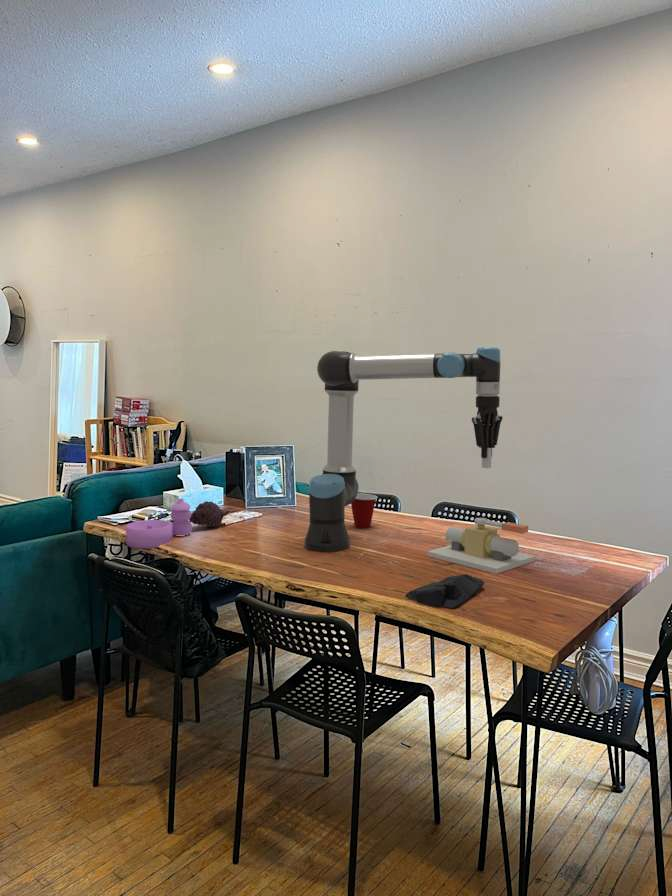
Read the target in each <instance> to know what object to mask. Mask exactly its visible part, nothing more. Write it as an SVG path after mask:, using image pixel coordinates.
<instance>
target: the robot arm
mask: <svg viewBox="0 0 672 896" xmlns="http://www.w3.org/2000/svg"><path fill="white" fill-rule="evenodd" d="M316 367H317V368H316V370H317V375H318V377H319V379H320V380H321V382H323V383H324V392H325V393H326V394H327V395H328V418H327V419H328V421H327V422H328V423H327V425H328V427H327V459H326V460H327V462H326V465H325V466H324V467H323V468H322V474H320V475H319V474H318V475H315V476H313V477H311V479H310V480H309V486H308V492H309V493H308V494H309V495H308V498H309V503H308V504H309V506H308V507H309V524H308V528H307V532H306V535H305V538H304V548H306V549H307V550H310V551H316V552H337V551H343V550H346V549H348V548H349V547H351V539H350V537H349V533H348V530H347V529H348V528H347V526H346V524H345V515H346V514H345V507H348V506H349V505H351V503H352V502H353V501H354V499H355V498H356V496H357V494H358V493H359V488H360V487H359V482H358V479H357V469H356V467H354V466H353V439H354V438H353V434H354V433H353V432H354V402H355V401H354V397H355V395H356V394H358V392H359V384H360V383H359V382H360V381H359V380H361V381H362V380H364V381H365V380H367V381H368V380H398V379H405V380H406V379H435V378H436V379H445V378H446V379H455V378H475V395H477V396H476V397H475V407H476V408H477V412H476V416H474V417H471V422H472V424H473V430H474V435H475V436H474V437H475V441H476V442H475V443H476V447H478V448H480V449H481V450H480V451H481V452H480V457H481V468H483V469H492V457H493V449H494V448H496V446H497V445H498V440H499V434H500V428H501V423H502V421H503V419H504V418H503V416H502V415H499V414H498V408H499V407H500V399H501V398H500V396H499V395H500V391H501V390H500V386H501V385H500V383H501V382H500V381H501V350H500V349H499V348H498V347H495V346H494V347H493V346H492V347H490V346H489V347H485V346H484V347H477V348H476V352H475V353H456V352H446V353H445V352H444V353H417V354H416V353H413V354H412V353H411V354H409V353H408V354H384V355H383V354H382V355H381V354H380V355H358V354H356V353H355V352H349V351H344V350H343V351H342V350H341V351H339V350H332V351H331V350H330V351H328V352H326V353H324V354H323V355H322V356H321V357H320V358H319V360H318V362H317V366H316Z"/></svg>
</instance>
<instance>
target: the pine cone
mask: <svg viewBox="0 0 672 896" xmlns="http://www.w3.org/2000/svg"><path fill="white" fill-rule="evenodd" d="M229 513H230V510H228V509H222V508H221V507H220V506H219V505H218V504H217V503H215V502H213V501H207V500H205V501H204V502H203V503H199V504H198V505H197V506H196V507H195V509H194V511H192V512H191V517H190V519H189V520H188V521H189V522H190V523H191V524H193V525H198V526H207V527H208V528H214V527H217V526H220V525H221V523H222V521H223V519H224V517H226V516H228V515H229Z"/></svg>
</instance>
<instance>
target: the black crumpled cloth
mask: <svg viewBox="0 0 672 896" xmlns="http://www.w3.org/2000/svg"><path fill="white" fill-rule="evenodd" d="M484 584H485V581H484V580H483V579H480V578H477V577H474V576H472V575H470V574H467V573H466V574H465V573H464V574H458V575H454V576H448V577H445V578H444V579H441V580H440V581H437V582H432V583H429V584H426V585H422V586H420V587H417V588H414V589H412V590H410V591H408V592H406V594H405V597H406V599H407V600H410V601H413V602H414V601H415V602H418V603H420V604H423V605H427V606H430V607H439V608H444V609H452V610H453V609H454V610H455V609H456V608H458V606H459V605H462V604H464V603H465V602H466V601H468V600H469V599H470V597H472V596H473V595H475V594H476V593H477V592H478V591H479V590H480V589H481V588H483V586H484Z"/></svg>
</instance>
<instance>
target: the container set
mask: <svg viewBox="0 0 672 896" xmlns="http://www.w3.org/2000/svg"><path fill="white" fill-rule="evenodd" d="M176 500H177V502H175V503H173V504H172V505H171V507H170V509H171V510H172V511H171V513H170V518H171V519H172V520H173V522H171V521H169V520H163V519H144V520H138V521H134V522H133V521H132V522H130V523H127V524H126V527H125V531H126V532H125V536H126V538H125V539H126V546H128V547H130V548H134V549H154V548H159V547H158V546H160V545H162V544H166V543H169V542H170V541H172V540H173V541H174V539H173V536H174V535H187V534H189V535H190V534H191V532H192V530H193V525H192V522H189V519H190V517H191V513H192V512H191V510H190V509H191V504H189V503H188V502H185V501H184V500H185V499H184V498H178V499H176ZM173 534H174V535H173Z"/></svg>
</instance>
